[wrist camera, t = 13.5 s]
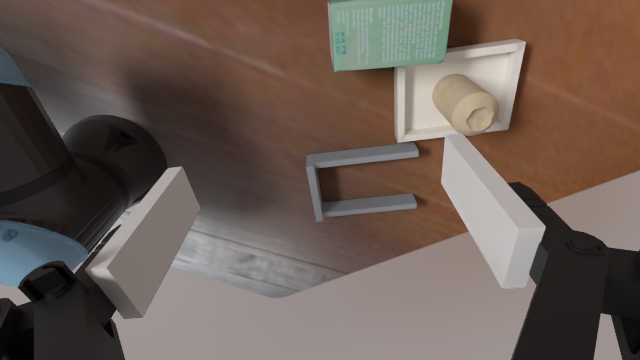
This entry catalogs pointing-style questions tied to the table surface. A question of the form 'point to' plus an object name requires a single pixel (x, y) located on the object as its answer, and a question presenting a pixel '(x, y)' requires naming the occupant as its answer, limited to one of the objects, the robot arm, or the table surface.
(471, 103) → the candle
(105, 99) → the table surface
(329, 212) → the bracket
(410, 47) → the box
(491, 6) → the table surface
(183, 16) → the table surface
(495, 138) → the table surface
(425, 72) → the tray
